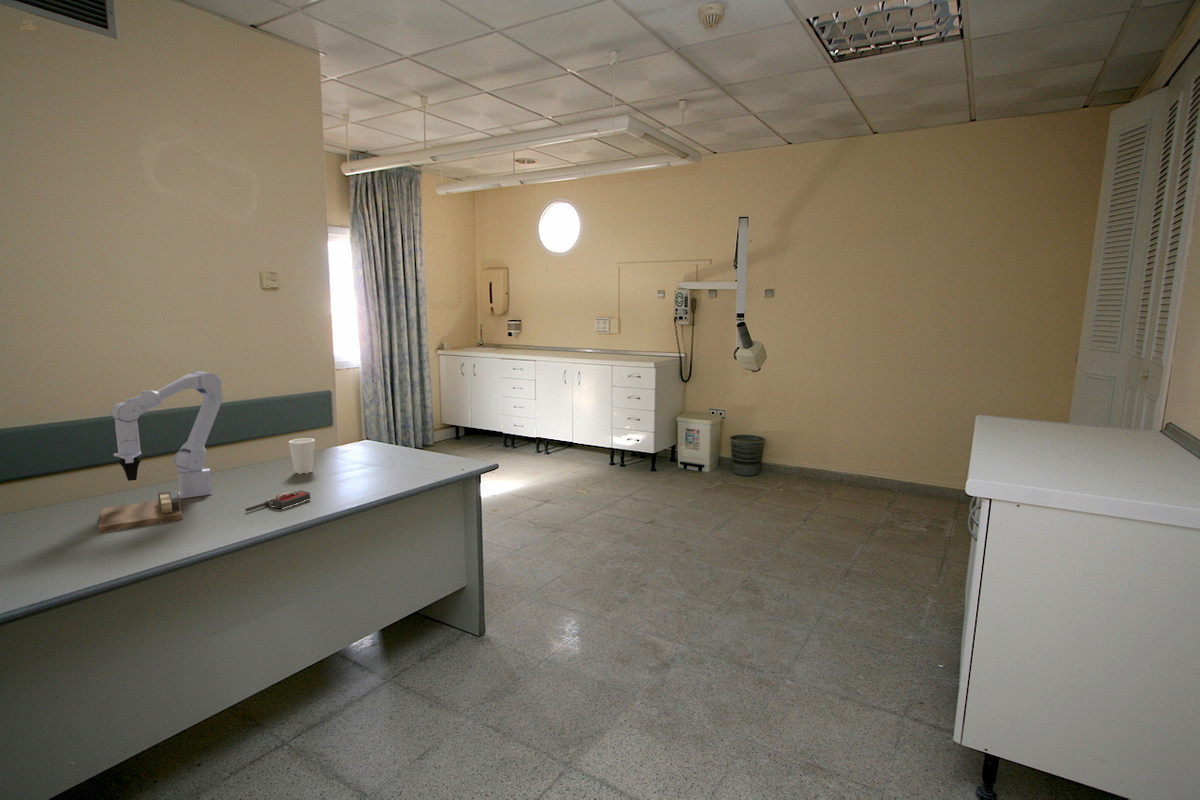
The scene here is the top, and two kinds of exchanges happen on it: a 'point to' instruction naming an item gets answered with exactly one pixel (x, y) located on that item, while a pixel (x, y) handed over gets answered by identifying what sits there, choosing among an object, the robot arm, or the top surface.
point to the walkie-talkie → (284, 500)
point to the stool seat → (138, 515)
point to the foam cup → (302, 454)
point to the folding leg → (165, 501)
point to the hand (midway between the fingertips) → (132, 479)
